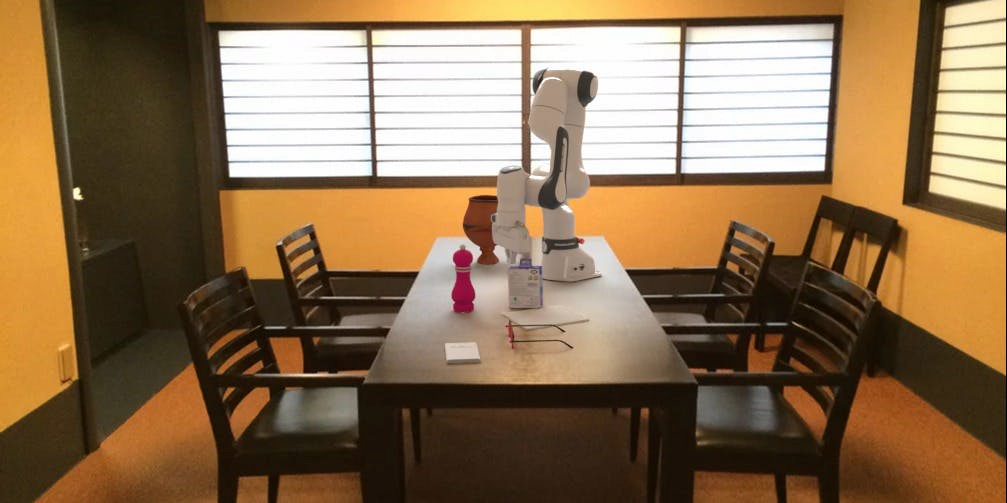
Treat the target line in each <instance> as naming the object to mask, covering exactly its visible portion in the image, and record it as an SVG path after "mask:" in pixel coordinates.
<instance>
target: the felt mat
mask: <svg viewBox="0 0 1007 503" xmlns="http://www.w3.org/2000/svg"><path fill="white" fill-rule="evenodd" d="M501 316H503V317H504V318H506V319H508V321H509V320H510V321H511V322H513V323H514V324H515V325H546V324H552V325H556V326H558V327H559V326H562V325H570V324H577V323H584V322H589V321H590V318H588V317H586V316H584V315H582V314H580V313H578V312H576V311H574V310H572V309H570V308H568V307H566V306H564V305H563V304H560V305H553V306H545V307H540V308H528V309H523V310H517V311H509V312H503V313H502V312H501ZM551 327H552V326H521V327H520V328H522V329H524V330H526V331H531V330H537V329H543V328H544V329H545V328H551Z"/></svg>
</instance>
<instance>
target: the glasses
mask: <svg viewBox="0 0 1007 503" xmlns="http://www.w3.org/2000/svg"><path fill="white" fill-rule="evenodd" d="M521 326H551V327H554V328H556V329H558V330H560V332H562V333H566V331H565V330H564V329H563V328H561V327H559V325H558V326H556V325H552V324H546V325H517V324H512V321H511V320H509V319H508V323H507V324H505V326H504V327H505V328H507V329H508V330H507V333H508V338H510V340H509V343H510V344H511V349H514V343H535V342H536V343H538V342H539V343H542V342H560V343H563V344H564V345H566V346H567V347H568V348H570V349H574V346H572V345H570V344H569V343H567V342H566V341H564V340H561V339H542V340H539V339H538V340H537V339H534V340H531V339H530V340H515V332H514V329H513V328H514V327H517V328H518V327H520V328H522V327H521Z"/></svg>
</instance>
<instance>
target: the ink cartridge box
mask: <svg viewBox="0 0 1007 503" xmlns="http://www.w3.org/2000/svg"><path fill="white" fill-rule="evenodd" d="M525 261H526V262H525ZM532 264H533V262H532V258H519V263H518V265H511V266H510V267H509V268H508V269H507V276H508V278H507V280H508V283H507V284H508V286H507V287H508V308H512V309H513V308H515V309H537V308H542V306H544V292H543V291H544V287H543V286H544V285H543V284H544V283H543V282H544V281H543V278H542V266H541V265H532Z"/></svg>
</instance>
